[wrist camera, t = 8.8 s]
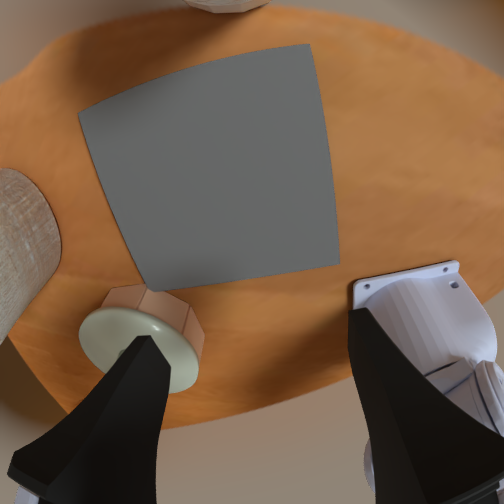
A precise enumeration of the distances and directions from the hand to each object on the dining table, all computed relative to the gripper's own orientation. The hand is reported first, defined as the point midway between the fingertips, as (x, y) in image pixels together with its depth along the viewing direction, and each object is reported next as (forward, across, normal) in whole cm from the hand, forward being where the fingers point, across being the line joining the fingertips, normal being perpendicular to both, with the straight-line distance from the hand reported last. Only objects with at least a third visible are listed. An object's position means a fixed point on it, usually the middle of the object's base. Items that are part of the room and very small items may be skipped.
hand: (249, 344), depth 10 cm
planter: (+10, +20, -4) cm, 23 cm away
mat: (+10, +2, -3) cm, 11 cm away
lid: (+6, +11, +8) cm, 15 cm away
